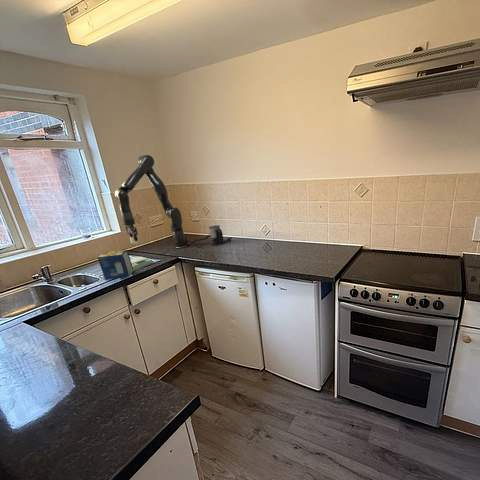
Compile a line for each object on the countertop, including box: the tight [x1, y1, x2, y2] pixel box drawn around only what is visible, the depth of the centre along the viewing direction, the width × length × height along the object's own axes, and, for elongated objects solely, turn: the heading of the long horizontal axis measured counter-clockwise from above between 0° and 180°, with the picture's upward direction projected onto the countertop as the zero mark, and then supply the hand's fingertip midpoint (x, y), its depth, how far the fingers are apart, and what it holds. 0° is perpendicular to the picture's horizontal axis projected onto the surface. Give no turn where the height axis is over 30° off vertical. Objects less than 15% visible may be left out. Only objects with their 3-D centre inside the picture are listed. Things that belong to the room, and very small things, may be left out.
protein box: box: [97, 249, 135, 280], centre depth 196 cm, size 10×15×16 cm
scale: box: [130, 256, 153, 270], centre depth 218 cm, size 14×17×3 cm
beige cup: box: [129, 235, 141, 245], centre depth 225 cm, size 6×6×5 cm
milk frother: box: [208, 224, 233, 246], centre depth 248 cm, size 14×16×15 cm
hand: (134, 240), depth 225 cm, fingers closed on beige cup, 6 cm apart
